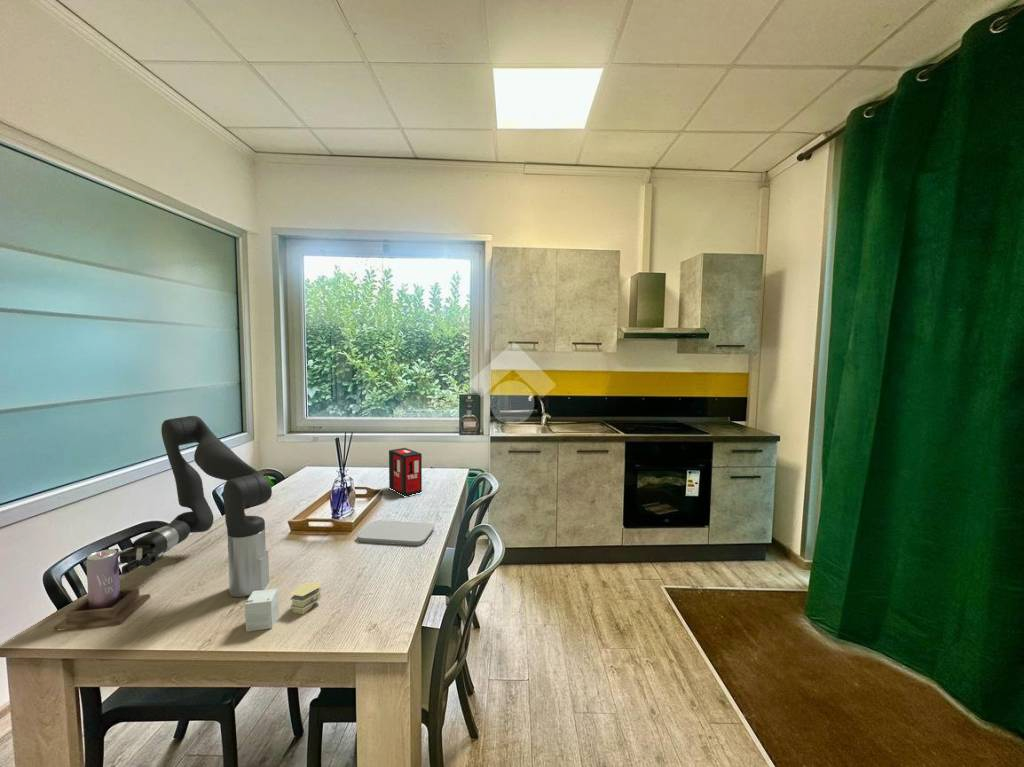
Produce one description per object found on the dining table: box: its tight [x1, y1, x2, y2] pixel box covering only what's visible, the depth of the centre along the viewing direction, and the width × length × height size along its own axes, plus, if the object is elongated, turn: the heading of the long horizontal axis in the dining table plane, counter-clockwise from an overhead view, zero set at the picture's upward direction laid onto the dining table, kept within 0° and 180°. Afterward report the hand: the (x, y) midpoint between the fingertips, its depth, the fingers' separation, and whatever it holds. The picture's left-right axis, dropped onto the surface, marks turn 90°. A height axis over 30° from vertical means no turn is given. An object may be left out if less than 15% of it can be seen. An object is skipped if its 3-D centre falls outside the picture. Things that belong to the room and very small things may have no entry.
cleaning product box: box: [388, 447, 423, 497], centre depth 212 cm, size 16×9×20 cm, turn 43°
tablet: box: [356, 519, 435, 546], centre depth 161 cm, size 16×26×2 cm, turn 83°
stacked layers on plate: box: [290, 581, 323, 615], centre depth 115 cm, size 10×9×6 cm
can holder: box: [53, 587, 151, 631], centre depth 111 cm, size 14×12×4 cm
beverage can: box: [85, 548, 121, 610], centre depth 111 cm, size 6×6×15 cm
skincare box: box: [244, 588, 280, 632], centre depth 108 cm, size 6×6×7 cm
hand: (106, 570), depth 112 cm, fingers open, 8 cm apart
